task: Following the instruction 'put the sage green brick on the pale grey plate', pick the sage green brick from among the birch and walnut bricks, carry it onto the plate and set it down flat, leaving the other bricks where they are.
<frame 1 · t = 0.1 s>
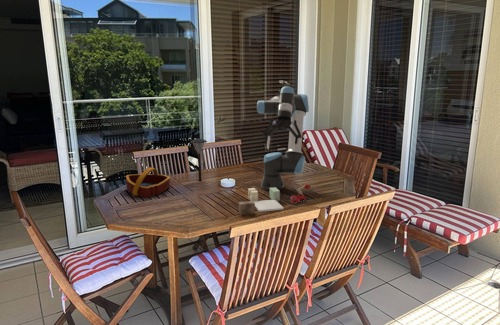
hand: (280, 148, 191), 36 cm above the table, tool tilted 35°, fingers open, 13 cm apart
solar garden light: (200, 180, 265), on the table
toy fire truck: (300, 201, 218), on the table
decorative basket: (147, 190, 244), on the table
grey plate: (267, 206, 210), on the table
birch brick: (253, 199, 223), on the table
sage brick: (274, 198, 224), on the table
walnut brick: (246, 213, 201), on the table
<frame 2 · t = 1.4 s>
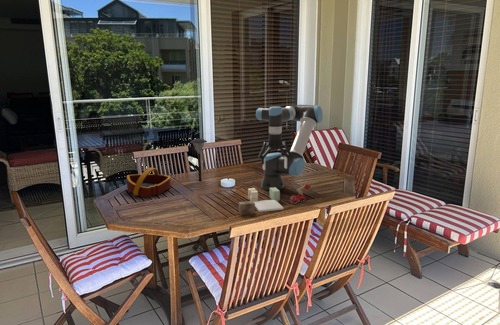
hand: (274, 168, 219), 19 cm above the table, tool pointing down, fingers open, 13 cm apart
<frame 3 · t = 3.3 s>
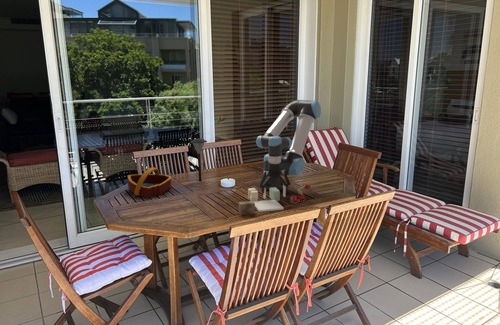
hand: (274, 197, 223), 1 cm above the table, tool pointing down, fingers open, 12 cm apart
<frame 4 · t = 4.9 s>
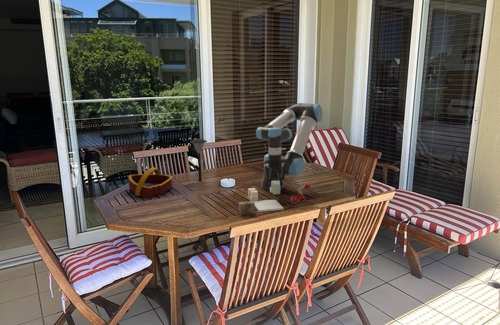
hand: (275, 191, 223), 4 cm above the table, tool pointing down, fingers closed on sage brick, 4 cm apart
sage brick: (275, 192, 223), point 4 cm above the table, touching gripper
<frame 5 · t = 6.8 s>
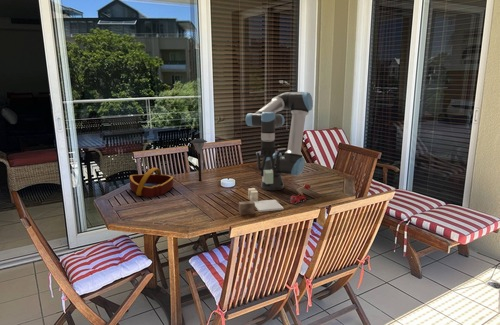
hand: (267, 181, 207), 15 cm above the table, tool pointing down, fingers closed on sage brick, 4 cm apart
sage brick: (267, 181, 207), point 15 cm above the table, touching gripper
when the fingers open (2 cm above the table, at t = 8.8 s): sage brick stays where it is, resting on grey plate.
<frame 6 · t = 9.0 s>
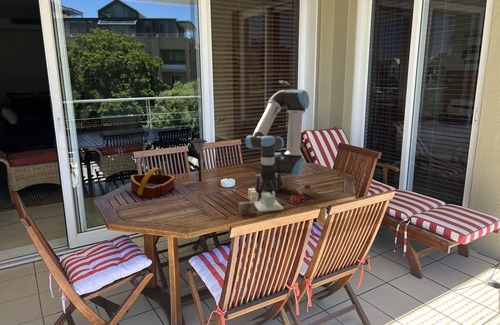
hand: (267, 203, 210), 2 cm above the table, tool pointing down, fingers open, 7 cm apart
sage brick: (267, 204, 210), point 1 cm above the table, touching grey plate
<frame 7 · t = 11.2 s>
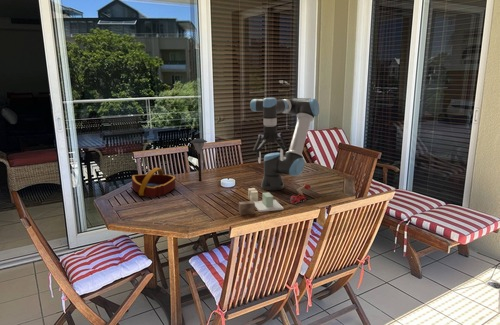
hand: (270, 161, 214), 24 cm above the table, tool pointing down, fingers open, 13 cm apart
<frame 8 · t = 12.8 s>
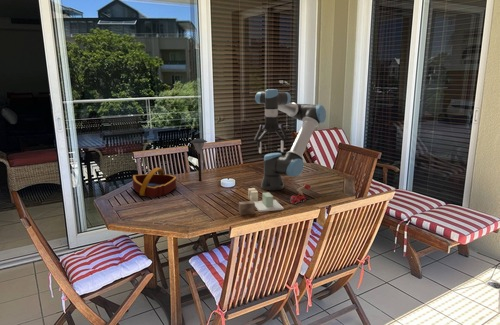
hand: (271, 152, 218), 29 cm above the table, tool pointing down, fingers open, 13 cm apart
at the end: sage brick inside the target area on the grey plate (0.0 cm from its centre), point 1.0 cm above the grey plate's base; sage brick tilted 0°; birch brick moved 0.1 cm from its start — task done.
